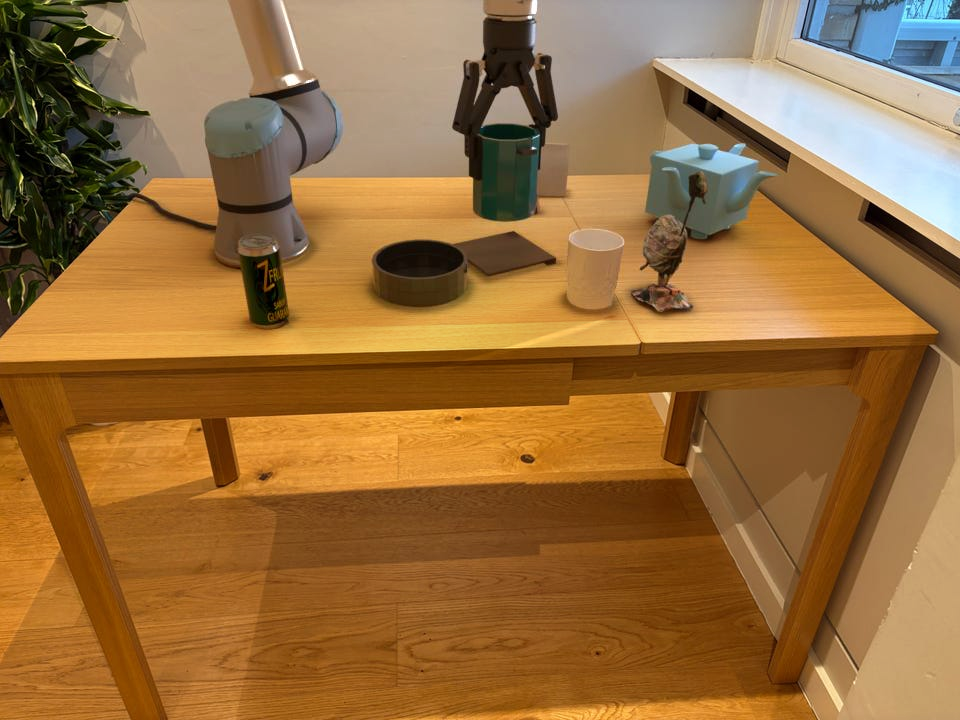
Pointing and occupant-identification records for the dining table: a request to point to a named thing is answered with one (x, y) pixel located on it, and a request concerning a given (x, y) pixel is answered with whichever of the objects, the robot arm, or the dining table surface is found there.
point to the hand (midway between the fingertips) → (504, 172)
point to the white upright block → (553, 170)
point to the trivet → (504, 253)
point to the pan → (420, 272)
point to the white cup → (593, 267)
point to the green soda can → (263, 280)
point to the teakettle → (725, 178)
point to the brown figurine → (668, 253)
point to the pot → (507, 172)
